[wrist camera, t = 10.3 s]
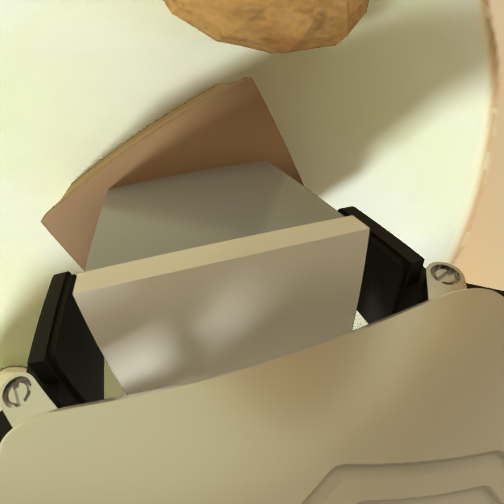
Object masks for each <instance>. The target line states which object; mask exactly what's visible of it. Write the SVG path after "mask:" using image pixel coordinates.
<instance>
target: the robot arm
mask: <svg viewBox="0 0 504 504" xmlns="http://www.w3.org/2000/svg"><path fill="white" fill-rule="evenodd" d="M338 212H339V213H341V214H342V215H343V216H344V217H347V216H352V215H353V216H354V217H356V218H357V219H358V220H360V221H361V222H362V223H364V224H365V225H366V226H367V227H369V228H370V231H369V238H368V245H367V252H366V259H365V265H364V271H363V277H362V283H361V288H360V294H359V299H358V304H357V309H356V310H357V311H358V312H359V313H360V314H361V315H362V317H363V318H364V319H365V320H366V321H367V323H368V325H366V326H363V327H361V328H358V329H356V330H353V331H350V332H348V333H345V334H342V335H340V336H337V337H334V338H331V339H329V340H326V341H323V342H320V343H317V344H314V345H311V346H309V347H306V348H303V349H300V350H297V351H294V352H291V353H288V354H285V355H281V356H278V357H275V358H272V359H269V360H266V361H262V362H259V363H256V364H252V365H249V366H245V367H242V368H238V369H235V370H231V371H228V372H224V373H220V374H217V375H213V376H209V377H205V378H201V379H197V380H193V381H189V382H185V383H181V384H177V385H172V386H168V387H164V388H159V389H154V390H150V391H145V392H140V393H135V394H130V395H125V396H120V397H115V398H109V399H104V356H103V354H102V352H101V350H100V348H99V347H98V345H97V343H96V341H95V339H94V337H93V335H92V333H91V331H90V329H89V327H88V325H87V323H86V321H85V319H84V317H83V315H82V313H81V311H80V309H79V307H78V305H77V303H76V300H75V298H74V296H73V290H74V286H75V282H76V278H77V276H76V275H75V274H73V275H71V273H70V272H64V273H60V274H56V275H54V276H53V278H52V281H51V283H50V286H49V289H48V292H47V295H46V298H45V301H44V305H43V308H42V311H41V314H40V318H39V321H38V324H37V328H36V332H35V335H34V339H33V343H32V347H31V351H30V355H29V359H28V363H27V364H28V367H27V371H26V372H19V373H16V374H14V375H12V376H11V377H9V378H8V379H7V380H6V381H5V382H4V384H3V385H2V387H1V389H0V406H1V408H2V410H1V411H0V504H504V291H500V290H495V289H491V288H486V287H482V286H476V285H472V284H468V283H466V282H465V278H464V275H463V273H462V272H461V271H460V270H459V269H458V268H457V267H455V266H453V265H451V264H449V263H445V262H434V263H431V264H429V265H428V266H427V268H426V269H425V268H424V267H423V263H424V258H423V257H421V256H420V255H419V254H417V253H416V252H415V251H414V250H412V249H411V248H410V247H408V246H407V245H406V244H405V243H403V242H402V241H401V240H399V239H398V238H397V237H395V236H394V235H393V234H391V233H390V232H389V231H387V230H386V229H385V228H383V227H382V226H380V225H379V224H378V223H376V222H375V221H374V220H372V219H371V218H369V217H368V216H367V215H365V214H364V213H362V212H361V211H359V210H358V209H357V208H355V207H353V206H351V207H346V208H341V209H339V210H338Z"/></svg>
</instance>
